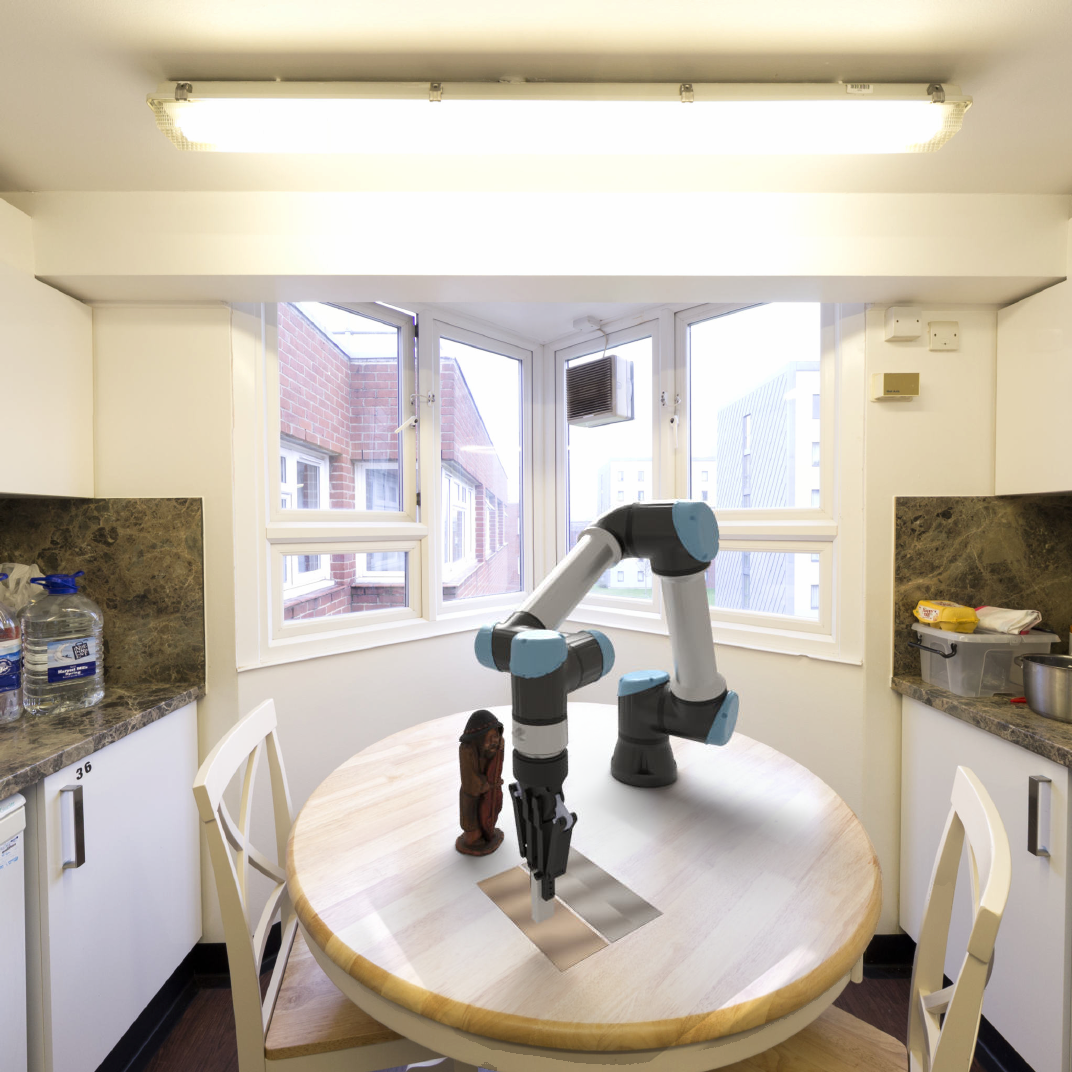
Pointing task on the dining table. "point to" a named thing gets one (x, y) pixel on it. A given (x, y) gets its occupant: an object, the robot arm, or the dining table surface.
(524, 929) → the plank
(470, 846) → the figurine
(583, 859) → the laid strip
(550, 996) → the dining table surface
